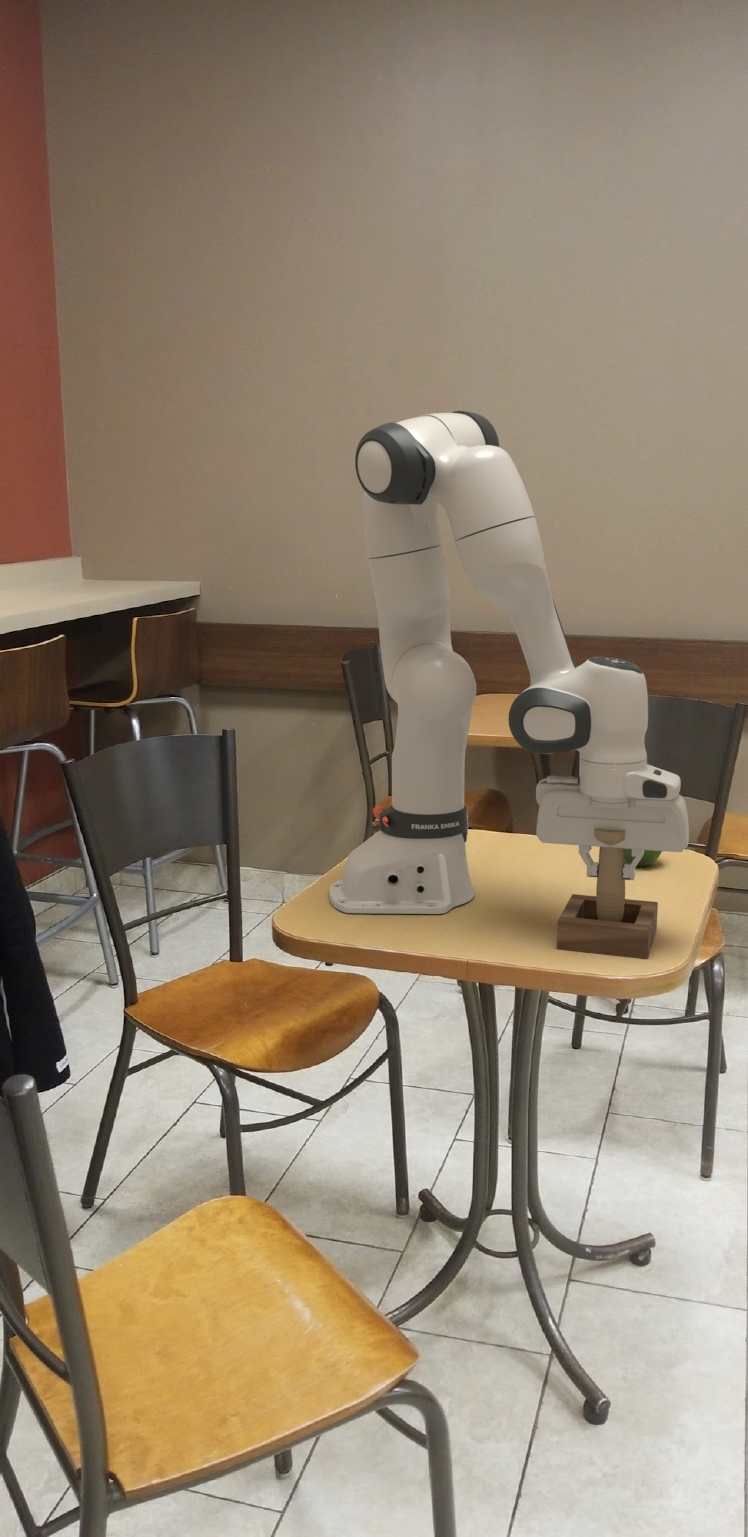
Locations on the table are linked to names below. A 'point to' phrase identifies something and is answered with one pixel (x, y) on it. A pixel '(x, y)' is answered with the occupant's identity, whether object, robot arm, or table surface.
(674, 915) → the table surface
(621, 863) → the handle
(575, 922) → the socket board
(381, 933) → the table surface
